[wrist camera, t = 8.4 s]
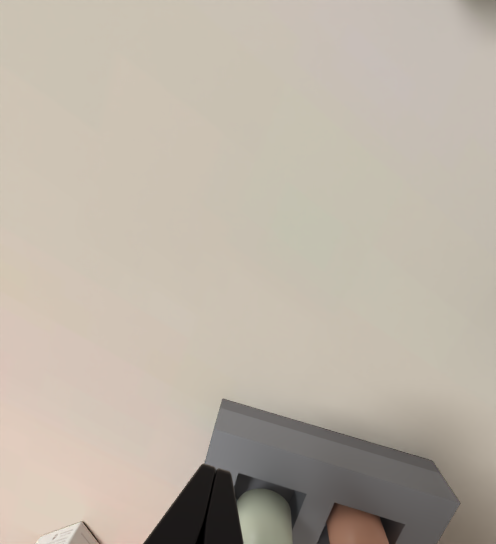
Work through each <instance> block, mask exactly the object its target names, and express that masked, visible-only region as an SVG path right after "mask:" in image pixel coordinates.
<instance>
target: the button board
mask: <svg viewBox="0 0 496 544" xmlns="http://www.w3.org/2000/svg"><path fill="white" fill-rule="evenodd" d="M205 464H208V465H211V466H214V467H215V468H216V470H217V469H218V468H220V469H224V470H227V471H230V473H231V475H232V480H233V486H234V491H235V497H236V503H237V500H238V499H239V497H240V496H241V495H242V494H243V493H245V492H246V491H249V490H252V489H259V488H261V489H268V490H272V491H274V492H276V493H278V494H280V495H281V496H282V497H283V498H284V499H285V500H286V501H287V502H288V504H289V506H290V509H291V522H292V540H293V544H330V542H329V536H328V530H327V524H326V521H327V519H328V516H329V514H330V512H331V510H332V507H333V505H334V503H338V504H341V505H344V506H347V507H351V508H354V509H357V510H360V511H364V512H367V513H370V514H373V515H377V516H379V517H380V519H381V522H382V525H383V528H384V531H385V533H386V536H387V539H388V542H389V544H437V542H438V541H439V539H440V537H441V536H442V534H443V532H444V530H445V529H446V527H447V525H448V524H449V522H450V520H451V518H452V517H453V515H454V513H455V512H456V510H457V508H458V506H459V505H460V502H459V500H458V499H457V497H456V496H455V494H454V493H453V491H452V490H451V488H450V487H449V485H448V484H447V482H446V481H445V479H444V478H443V476H442V474H441V473H440V471H439V470H438V468H437V467H436V465H435V464H434V462H433V461H431V460H428V459H424V458H421V457H418V456H414V455H411V454H408V453H404V452H401V451H397V450H394V449H391V448H387V447H384V446H381V445H377V444H374V443H370V442H367V441H364V440H360V439H357V438H354V437H350V436H347V435H343V434H340V433H337V432H333V431H330V430H327V429H323V428H320V427H316V426H313V425H310V424H306V423H303V422H300V421H296V420H293V419H289V418H286V417H283V416H279V415H276V414H273V413H269V412H266V411H262V410H259V409H256V408H252V407H249V406H245V405H242V404H239V403H235V402H232V401H229V400H225V399H222V402H221V406H220V409H219V413H218V416H217V420H216V423H215V426H214V430H213V434H212V438H211V441H210V445H209V449H208V452H207V456H206V460H205Z"/></svg>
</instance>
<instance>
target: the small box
mask: <svg viewBox="0 0 496 544" xmlns="http://www.w3.org/2000/svg"><path fill="white" fill-rule="evenodd" d="M36 544H99V543H98V542H97V540H96V539H95V538H94V536H93V535H92V534H91V533H90V531H89V530H88V529H87V527H86V526H85V525H84V524H83V522H79V523H76V524H74V525H71V526H68V527H65V528H63V529H60V530H57V531H54V532H51V533H49V534H46V535H43V536H41V537H40V538H39V540H38V541H37V542H36Z"/></svg>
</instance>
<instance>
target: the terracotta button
mask: <svg viewBox="0 0 496 544" xmlns="http://www.w3.org/2000/svg"><path fill="white" fill-rule="evenodd" d="M326 524H327V530H328V536H329V542H330V544H389V542H388V539H387V536H386V533H385V531H384V528H383V525H382V522H381V519H380V517H379V516H377V515H373V514H370V513H367V512H364V511H360V510H357V509H354V508H351V507H347V506H344V505H341V504H338V503H334V505H333V507H332V510H331V512H330V514H329V516H328V519H327V521H326Z"/></svg>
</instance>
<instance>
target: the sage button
mask: <svg viewBox="0 0 496 544" xmlns="http://www.w3.org/2000/svg"><path fill="white" fill-rule="evenodd" d="M237 508H238V514H239V520H240V525H241V531H242V536H243V542H244V544H293V540H292V522H291V509H290V506H289V504H288V502H287V501H286V500H285V499H284V498H283V497H282V496H281V495H280V494H278V493H276V492H274V491H272V490H268V489H261V488H259V489H252V490H249V491H246V492H245V493H243V494H242V495H241V496H240V497H239V499H238V500H237Z"/></svg>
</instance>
